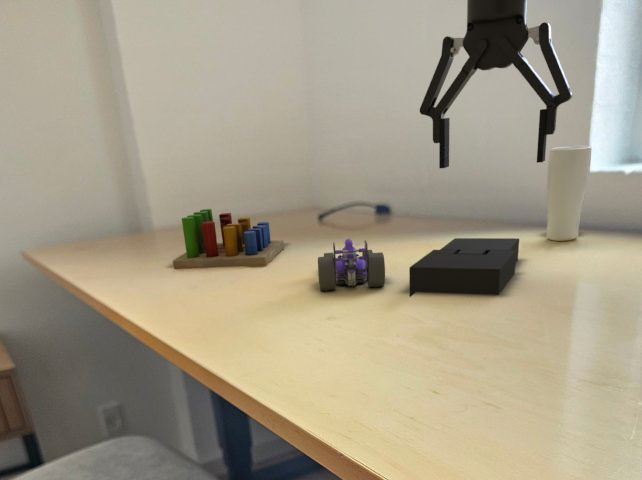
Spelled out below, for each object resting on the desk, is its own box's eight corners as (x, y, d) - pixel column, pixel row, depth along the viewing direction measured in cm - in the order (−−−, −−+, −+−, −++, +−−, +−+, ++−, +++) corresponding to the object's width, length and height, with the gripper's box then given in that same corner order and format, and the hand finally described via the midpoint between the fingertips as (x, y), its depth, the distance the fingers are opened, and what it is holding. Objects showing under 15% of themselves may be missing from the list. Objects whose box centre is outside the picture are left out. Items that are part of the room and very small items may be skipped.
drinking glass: (555, 234, 122) (563, 146, 116) (589, 237, 118) (600, 145, 111) (534, 240, 119) (541, 149, 112) (568, 243, 114) (578, 149, 107)
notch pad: (409, 296, 90) (409, 267, 89) (433, 276, 100) (433, 249, 98) (498, 300, 85) (500, 269, 84) (514, 278, 95) (516, 250, 93)
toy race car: (376, 267, 108) (375, 226, 105) (385, 289, 95) (384, 243, 92) (319, 272, 109) (316, 231, 106) (319, 294, 95) (316, 248, 92)
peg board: (266, 266, 116) (261, 215, 112) (173, 270, 119) (164, 221, 115) (284, 247, 131) (280, 202, 127) (201, 251, 134) (195, 207, 130)
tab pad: (434, 280, 97) (434, 253, 96) (454, 263, 107) (454, 238, 105) (503, 282, 93) (505, 254, 91) (517, 264, 103) (519, 238, 101)
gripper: (395, -1, 87) (399, 172, 96) (600, -37, 77) (582, 161, 86) (412, 5, 93) (414, 167, 102) (604, -28, 82) (586, 156, 92)
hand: (491, 164), depth 94 cm, fingers open, 13 cm apart
